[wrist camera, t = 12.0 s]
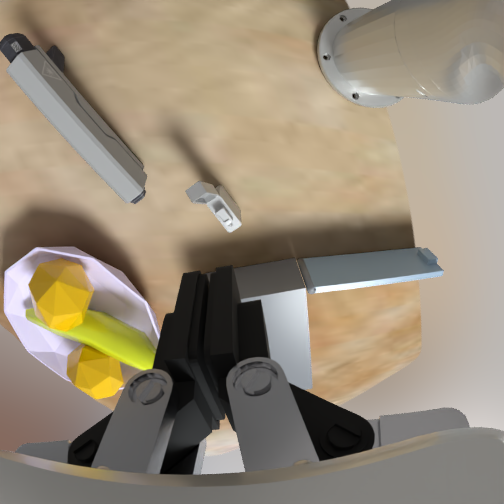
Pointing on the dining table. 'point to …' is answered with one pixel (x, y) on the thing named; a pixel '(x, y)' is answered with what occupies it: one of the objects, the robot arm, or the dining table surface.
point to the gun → (73, 115)
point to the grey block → (281, 314)
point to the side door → (367, 269)
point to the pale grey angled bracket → (217, 203)
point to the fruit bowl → (80, 318)
